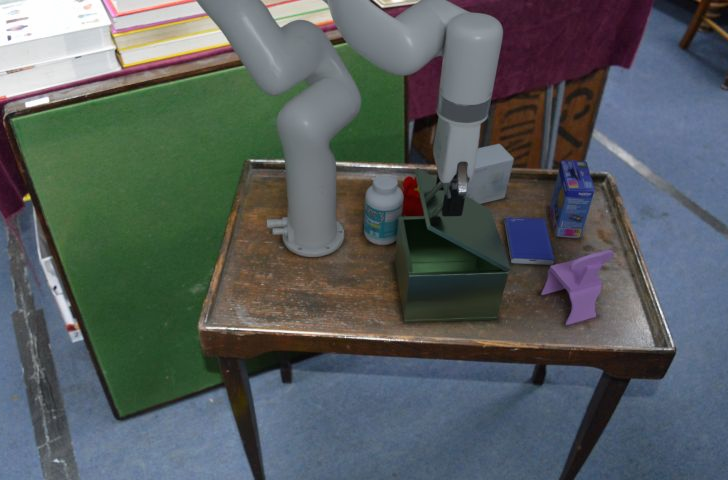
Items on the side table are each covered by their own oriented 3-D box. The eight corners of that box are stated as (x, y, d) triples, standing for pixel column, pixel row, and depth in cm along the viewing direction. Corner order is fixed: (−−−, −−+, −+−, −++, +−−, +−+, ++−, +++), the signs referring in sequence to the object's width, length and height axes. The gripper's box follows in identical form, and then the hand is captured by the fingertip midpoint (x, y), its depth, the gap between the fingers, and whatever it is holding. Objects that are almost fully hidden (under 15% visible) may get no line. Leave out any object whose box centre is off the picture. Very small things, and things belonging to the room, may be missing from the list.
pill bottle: (357, 229, 136) (358, 176, 127) (388, 219, 139) (391, 165, 129) (375, 251, 131) (378, 197, 122) (407, 240, 134) (412, 185, 124)
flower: (391, 218, 139) (393, 187, 133) (409, 199, 143) (412, 168, 138) (424, 231, 136) (428, 200, 130) (442, 212, 140) (446, 181, 134)
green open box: (404, 323, 118) (409, 276, 110) (394, 263, 129) (398, 216, 121) (496, 320, 118) (508, 272, 110) (479, 260, 129) (489, 213, 121)
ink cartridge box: (546, 207, 141) (562, 149, 131) (573, 208, 140) (591, 150, 130) (553, 237, 134) (570, 178, 124) (581, 239, 133) (601, 180, 123)
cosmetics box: (463, 209, 141) (470, 168, 133) (449, 192, 145) (455, 152, 137) (506, 199, 143) (515, 158, 136) (491, 182, 147) (499, 141, 140)
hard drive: (505, 216, 136) (512, 257, 128) (545, 218, 136) (555, 259, 127) (503, 222, 137) (510, 263, 129) (544, 224, 137) (553, 265, 128)
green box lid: (427, 229, 102) (449, 206, 99) (414, 170, 114) (434, 148, 111) (507, 272, 110) (530, 252, 107) (487, 213, 121) (508, 193, 118)
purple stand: (573, 282, 125) (594, 221, 114) (601, 315, 119) (626, 253, 108) (534, 293, 123) (553, 231, 112) (561, 326, 117) (583, 265, 106)
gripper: (429, 75, 102) (419, 171, 115) (446, 137, 90) (432, 237, 103) (478, 74, 102) (462, 170, 115) (501, 135, 90) (481, 235, 103)
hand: (448, 201), depth 109 cm, fingers closed on green box lid, 6 cm apart
